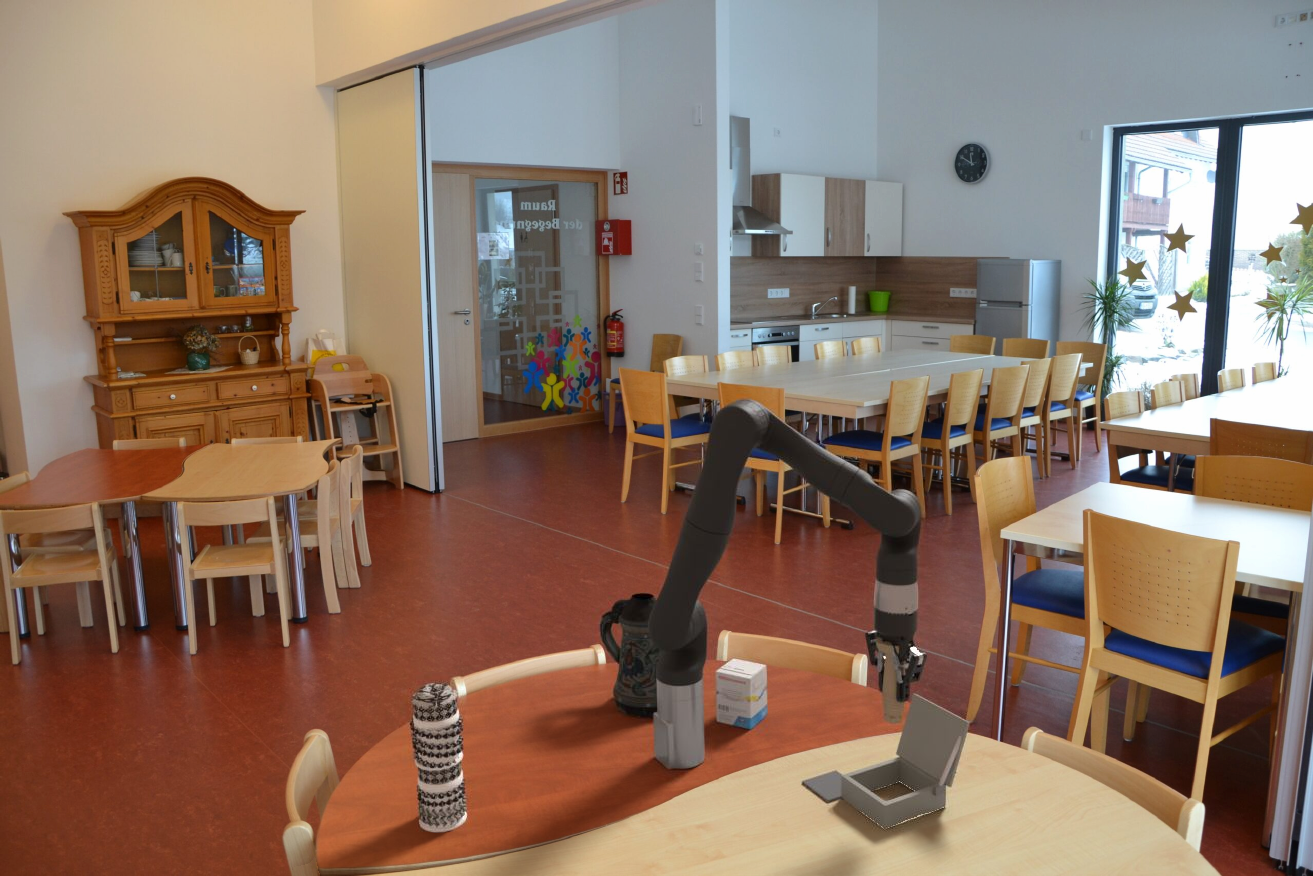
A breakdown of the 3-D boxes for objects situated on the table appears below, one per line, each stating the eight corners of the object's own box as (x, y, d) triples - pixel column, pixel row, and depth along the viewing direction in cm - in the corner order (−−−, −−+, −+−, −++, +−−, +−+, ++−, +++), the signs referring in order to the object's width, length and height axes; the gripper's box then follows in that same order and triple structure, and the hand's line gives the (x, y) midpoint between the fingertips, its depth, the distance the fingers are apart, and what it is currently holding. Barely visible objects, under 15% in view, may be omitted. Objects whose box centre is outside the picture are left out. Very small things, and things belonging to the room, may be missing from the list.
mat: (827, 802, 179) (827, 800, 179) (802, 783, 186) (802, 781, 186) (862, 791, 183) (862, 789, 182) (835, 772, 190) (835, 770, 189)
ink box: (768, 714, 215) (767, 664, 213) (750, 730, 208) (750, 678, 206) (733, 706, 219) (733, 657, 217) (715, 721, 212) (714, 670, 210)
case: (888, 832, 169) (889, 746, 166) (837, 795, 181) (838, 714, 179) (967, 804, 177) (970, 721, 175) (914, 770, 189) (915, 692, 187)
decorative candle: (444, 839, 171) (434, 704, 166) (406, 824, 175) (396, 692, 171) (479, 814, 178) (471, 684, 174) (442, 801, 183) (433, 674, 179)
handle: (910, 729, 172) (913, 648, 170) (873, 724, 174) (875, 644, 172) (912, 717, 177) (914, 638, 174) (876, 712, 179) (877, 634, 176)
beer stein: (686, 718, 214) (684, 608, 210) (597, 719, 215) (593, 610, 210) (685, 686, 231) (683, 584, 226) (603, 688, 231) (599, 586, 227)
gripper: (853, 596, 176) (851, 686, 179) (907, 620, 164) (904, 716, 167) (885, 589, 180) (883, 677, 183) (941, 612, 167) (938, 707, 170)
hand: (893, 695), depth 175 cm, fingers closed on handle, 4 cm apart
